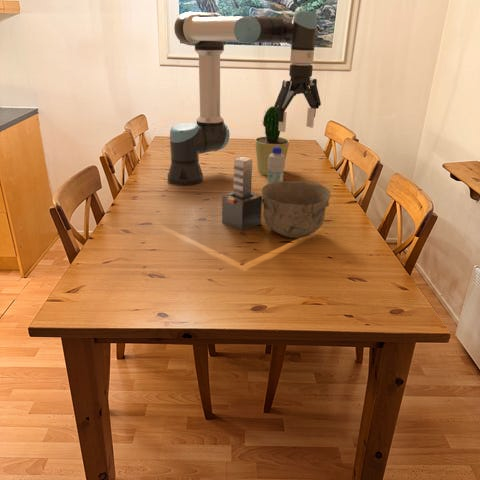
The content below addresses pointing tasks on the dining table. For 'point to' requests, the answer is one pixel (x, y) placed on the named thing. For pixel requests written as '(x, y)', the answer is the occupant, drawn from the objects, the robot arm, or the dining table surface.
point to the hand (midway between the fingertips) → (296, 129)
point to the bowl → (295, 207)
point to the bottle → (276, 166)
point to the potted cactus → (269, 140)
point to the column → (242, 177)
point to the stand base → (241, 211)
